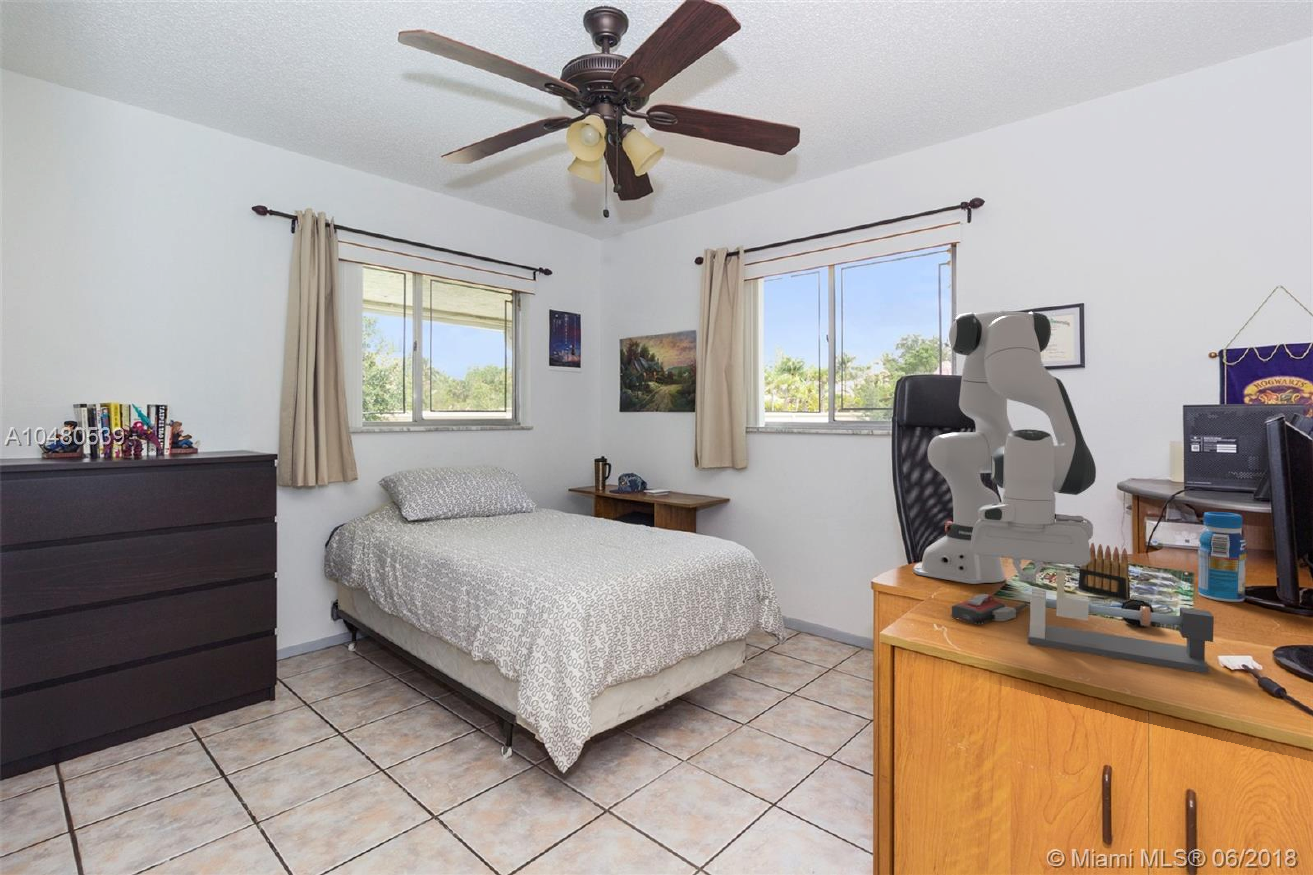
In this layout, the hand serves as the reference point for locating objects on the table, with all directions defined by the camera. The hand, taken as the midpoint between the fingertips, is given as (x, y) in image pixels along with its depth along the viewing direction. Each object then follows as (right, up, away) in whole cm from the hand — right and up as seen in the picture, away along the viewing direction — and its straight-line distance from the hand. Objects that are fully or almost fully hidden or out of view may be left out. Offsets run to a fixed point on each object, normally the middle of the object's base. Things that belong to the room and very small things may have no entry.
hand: (1027, 581), depth 121 cm
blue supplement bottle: (+60, -10, +24) cm, 66 cm away
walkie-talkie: (0, -11, +13) cm, 17 cm away
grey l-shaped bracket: (+6, -6, -4) cm, 9 cm away
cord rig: (+11, -11, -7) cm, 17 cm away
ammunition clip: (+36, -10, +28) cm, 47 cm away
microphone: (+31, -11, +10) cm, 35 cm away
